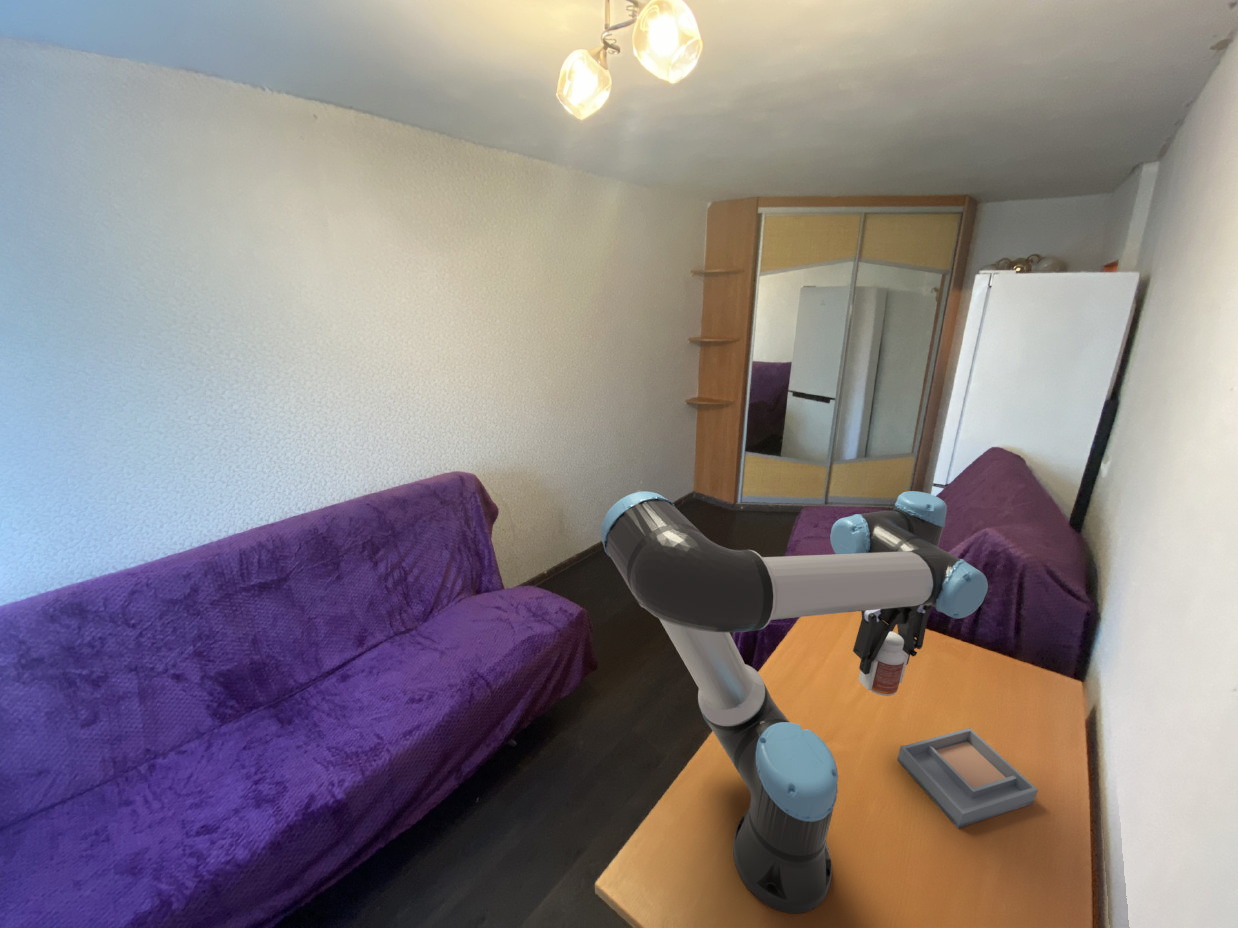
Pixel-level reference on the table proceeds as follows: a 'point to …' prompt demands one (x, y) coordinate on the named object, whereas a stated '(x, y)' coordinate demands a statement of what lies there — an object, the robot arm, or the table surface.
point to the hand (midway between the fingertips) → (880, 681)
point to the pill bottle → (889, 665)
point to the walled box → (966, 777)
